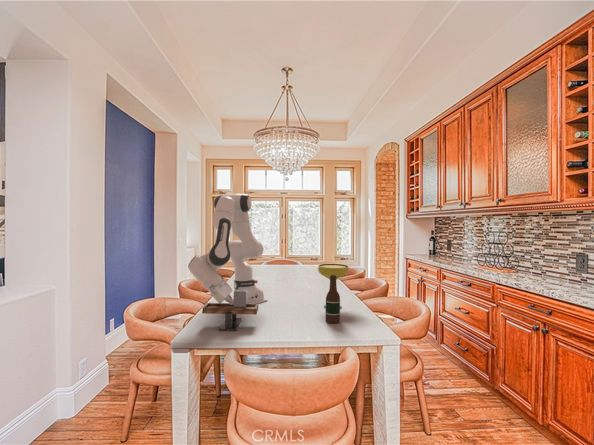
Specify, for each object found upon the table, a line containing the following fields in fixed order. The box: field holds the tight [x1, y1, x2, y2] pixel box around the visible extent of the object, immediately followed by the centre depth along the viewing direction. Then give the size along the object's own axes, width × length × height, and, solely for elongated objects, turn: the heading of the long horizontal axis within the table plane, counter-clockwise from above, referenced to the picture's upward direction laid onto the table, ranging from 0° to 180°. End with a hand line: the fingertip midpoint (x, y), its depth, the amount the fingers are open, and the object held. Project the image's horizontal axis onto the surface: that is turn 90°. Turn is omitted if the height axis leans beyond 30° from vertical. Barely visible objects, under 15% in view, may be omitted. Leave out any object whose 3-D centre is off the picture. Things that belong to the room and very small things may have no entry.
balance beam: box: [201, 302, 259, 315], centre depth 166 cm, size 26×10×3 cm, turn 91°
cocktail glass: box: [317, 263, 349, 310], centre depth 201 cm, size 18×18×25 cm
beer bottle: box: [325, 275, 341, 324], centre depth 173 cm, size 8×8×24 cm
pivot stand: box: [218, 312, 243, 332], centre depth 166 cm, size 8×17×8 cm, turn 1°
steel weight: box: [233, 289, 248, 308], centre depth 165 cm, size 6×5×9 cm
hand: (233, 303), depth 166 cm, fingers closed, pressing on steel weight
